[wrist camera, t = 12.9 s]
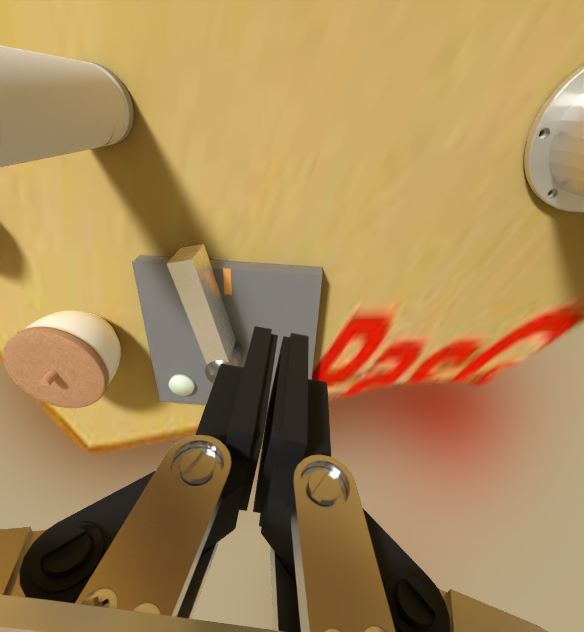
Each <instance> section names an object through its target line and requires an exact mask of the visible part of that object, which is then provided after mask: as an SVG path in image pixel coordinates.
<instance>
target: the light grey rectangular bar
mask: <svg viewBox="0 0 584 632" xmlns="http://www.w3.org/2000/svg"><path fill="white" fill-rule="evenodd" d="M167 266H168V268H169V271H170V273H171V276H172V278H173V281H174V283H175V286H176V288H177V291H178V293H179V296H180V298H181V301H182V303H183V306H184V308H185V311H186V313H187V316H188V318H189V321H190V323H191V326H192V328H193V331H194V333H195V336H196V338H197V341H198V344H199V346H200V349H201V351H202V354H203V356H204V359H205V361H206V364H207V365H206V368H205V375H206V377H207V379H208V380H209V381H210V382H212V383H213V384H214V381H215V378H216V375H217V372H218V370H219V367H220V365H221V363H222V364H228V365H233V366H239V367H241V365H242V361H243V357H244V348H243V346H242V345H241V344H240V343H239V342H238V341H236V339H235V336H234V333H233V330H232V327H231V324H230V321H229V318H228V315H227V312H226V309H225V306H224V303H223V300H222V297H221V294H220V291H219V288H218V285H217V282H216V279H215V276H214V273H213V270H212V267H211V264H210V261H209V258H208V255H207V252H206V249H205V246H204V244H200V245H195V246H189V247H183V248H180V249H179V251H178V252H177V253H176V254H175V255H174V256H173V257H172V258H171V259H170V260H169V262H168V263H167Z"/></svg>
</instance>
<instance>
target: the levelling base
mask: <svg viewBox="0 0 584 632" xmlns="http://www.w3.org/2000/svg"><path fill="white" fill-rule="evenodd" d="M171 258H172V257H159V256H144V255H140V256H139V257H138V258H136V259H135V260H134V261H133V262H132V264H133V269H134V274H135V279H136V284H137V289H138V294H139V299H140V304H141V309H142V314H143V319H144V325H145V330H146V335H147V340H148V345H149V350H150V355H151V360H152V365H153V370H154V375H155V380H156V385H157V390H158V395H159V400H160V401H165V402H179V403H193V404H207V401H208V398H209V395H210V392H211V390H212V387H213V383H212V382H210V381H209V380H208V379H207V377H206V375H205V368H206V365H207V364H206V361H205V359H204V356H203V354H202V351H201V349H200V346H199V344H198V341H197V338H196V336H195V333H194V331H193V328H192V326H191V323H190V321H189V318H188V316H187V313H186V311H185V308H184V306H183V303H182V301H181V298H180V296H179V293H178V291H177V288H176V286H175V283H174V281H173V278H172V276H171V273H170V271H169V268H168V266H167V263H168V262H169V260H170V259H171ZM209 261H210V264H211V267H212V270H213V273H214V276H215V279H216V282H217V285H218V288H219V291H220V294H221V297H222V300H223V303H224V306H225V309H226V312H227V315H228V318H229V321H230V324H231V327H232V330H233V333H234V336H235V339H236V341H238V342H239V343H240V344H241V345H242V346H243V348H244V357H243V361H242V365H241V367H244V366H245V362H246V358H247V354H248V350H249V346H250V342H251V338H252V334H253V331H254V327H255V326H258V327H263V328H269V329H272V332H271V334H275V335H278V339H277V346H276V353H275V360H274V367H273V373H272V380H271V387H270V394H269V399H270V395H271V390H272V386H273V381H274V376H275V372H276V367H277V363H278V358H279V354H280V349H281V344H282V340H283V336H286V337H290V334H291V333H295V334H301V335H306V336H309V350H308V379H311V380H312V371H313V361H314V352H315V342H316V333H317V323H318V314H319V304H320V295H321V285H322V276H323V274H322V267H310V266H295V265H280V264H265V263H250V262H235V261H220V260H209ZM268 405H269V401H268ZM267 409H268V408H267Z"/></svg>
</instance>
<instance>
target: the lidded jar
mask: <svg viewBox="0 0 584 632" xmlns="http://www.w3.org/2000/svg"><path fill="white" fill-rule="evenodd" d="M120 358H121V347H120V342H119V339H118V337H117V335H116V332H115V330H114V328H113V327H112V326H111V324H110V323H109V322H107V321H106V320H105V319H104V318H102V317H100V316H98V315H96V314H93V313H87V312H82V311H61V312H56V313H52V314H50V315H47V316H45V317H43V318H41V319H39V320H37V321H35V322H33V323H32V324H31V325H29V326H28V327H26V328H25V329H24V330H22V331H20V332H18V333H17V334H15V335H14V336H13V337H12V338H10V339H9V340H8V342H7V343H6V344H5V347H4V350H3V361H4V365H5V368H6V370H7V372H8V373H9V375H10V376H11V378H12V379H13V380H14V381H15V382H16V384H17V385H18V386H20V387H21V388H22V389H23V390H24V391H26V392H27V393H28V394H30V395H31V396H33V397H35V398H36V399H39V400H41V401H43V402H45V403H48V404H51V405H54V406H58V407H64V408H80V407H85V406H88V405H91V404H93V403H95V402H96V401H98V400H99V399H100V398H101V396H102V395H103V394H104V392H105V391H106V389H107V386H108V385H109V383H110V382H111V380H112V379H113V377H114V375H115V373H116V371H117V369H118V366H119V363H120Z"/></svg>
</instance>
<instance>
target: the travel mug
mask: <svg viewBox="0 0 584 632" xmlns="http://www.w3.org/2000/svg"><path fill="white" fill-rule="evenodd" d="M133 121H134V110H133V104H132V100H131V97H130V95H129V93H128V91H127V89H126V87H125V86H124V84H123V83H122V81H121V80H120V79H119V78H118V77H117V76H116V75H115V74H114V73H113V72H112V71H110V70H109V69H107V68H105V67H104V66H101V65H99V64H96V63H91V62H85V61H80V60H75V59H70V58H65V57H59V56H54V55H49V54H43V53H38V52H33V51H28V50H22V49H17V48H12V47H7V46H1V45H0V167H4V166H9V165H14V164H19V163H24V162H29V161H34V160H39V159H44V158H49V157H54V156H59V155H64V154H69V153H74V152H79V151H84V150H89V149H94V148H98V147H103V146H108V145H113V144H116V143H119V142H121V141H122V140H124V139H125V138H126V137H127V136H128V135H129V133H130V131H131V129H132V125H133Z"/></svg>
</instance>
